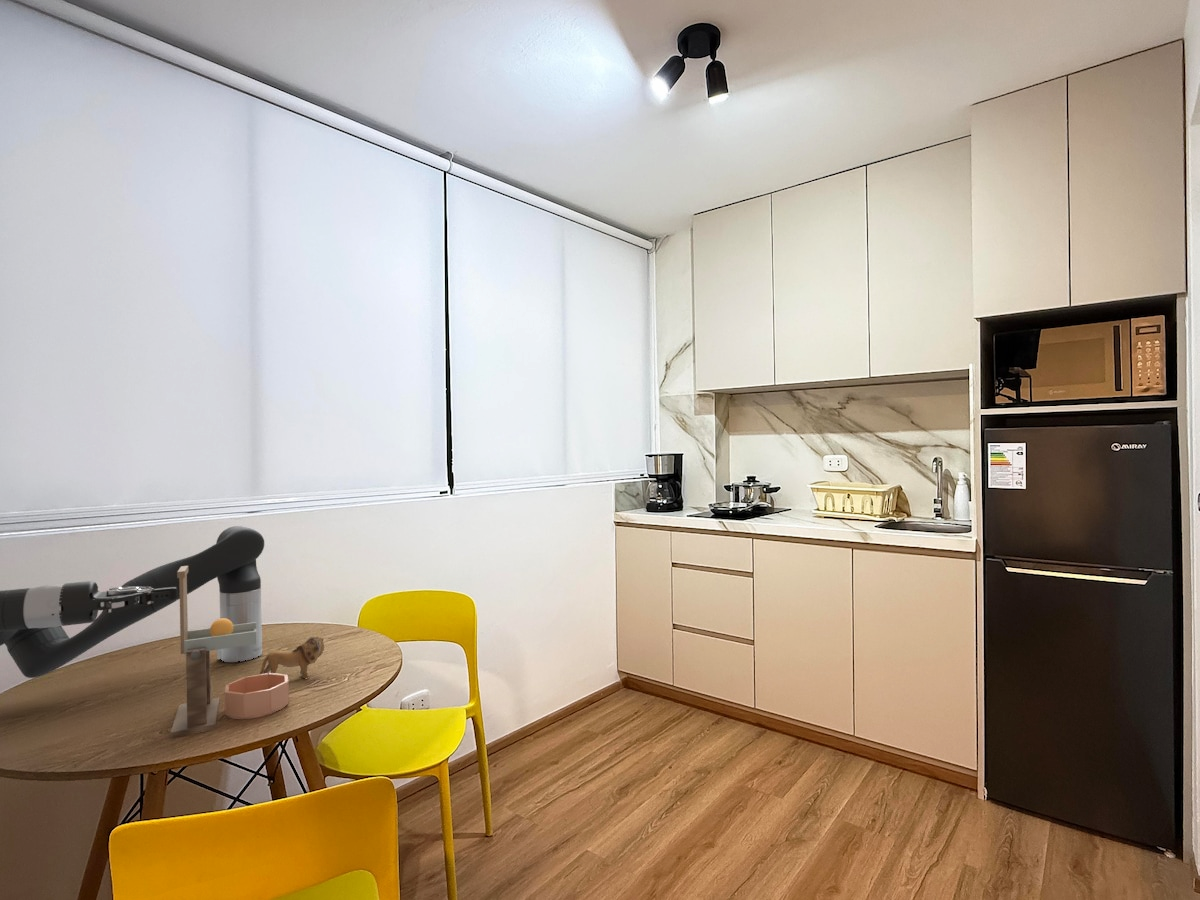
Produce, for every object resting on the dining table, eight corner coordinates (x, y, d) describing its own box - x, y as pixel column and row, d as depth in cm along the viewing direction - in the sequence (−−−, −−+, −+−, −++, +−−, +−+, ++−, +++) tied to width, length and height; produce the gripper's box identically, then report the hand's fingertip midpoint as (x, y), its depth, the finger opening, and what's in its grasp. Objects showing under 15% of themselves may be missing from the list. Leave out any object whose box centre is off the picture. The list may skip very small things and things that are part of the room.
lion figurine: (324, 669, 152) (323, 632, 152) (325, 676, 147) (324, 637, 147) (253, 681, 145) (253, 641, 145) (253, 688, 140) (252, 647, 140)
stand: (170, 738, 116) (169, 655, 116) (179, 709, 129) (178, 635, 129) (215, 729, 119) (213, 649, 119) (219, 702, 133) (218, 629, 133)
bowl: (224, 724, 122) (223, 698, 122) (226, 703, 132) (226, 679, 132) (289, 711, 127) (289, 686, 127) (287, 693, 137) (287, 669, 137)
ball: (205, 641, 125) (204, 620, 125) (221, 635, 129) (221, 615, 129) (222, 642, 124) (222, 621, 124) (238, 636, 128) (238, 616, 128)
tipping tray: (178, 655, 120) (176, 572, 120) (182, 644, 127) (181, 565, 127) (256, 644, 126) (254, 565, 126) (256, 634, 133) (255, 559, 133)
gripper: (72, 617, 121) (181, 605, 129) (52, 634, 109) (173, 620, 117) (71, 577, 121) (180, 568, 129) (51, 590, 109) (172, 579, 117)
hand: (176, 593), depth 123 cm, fingers closed
